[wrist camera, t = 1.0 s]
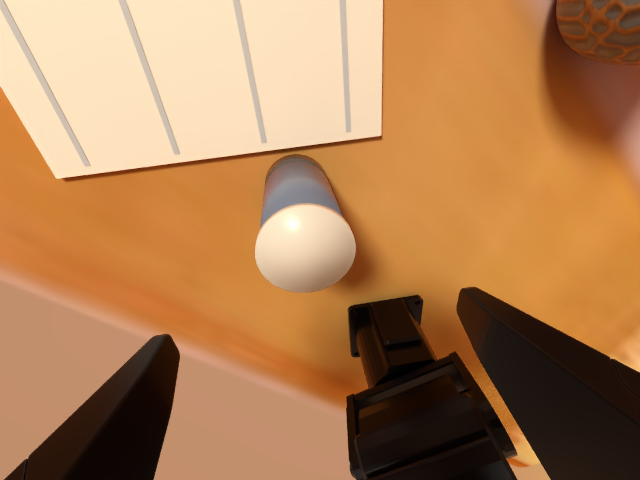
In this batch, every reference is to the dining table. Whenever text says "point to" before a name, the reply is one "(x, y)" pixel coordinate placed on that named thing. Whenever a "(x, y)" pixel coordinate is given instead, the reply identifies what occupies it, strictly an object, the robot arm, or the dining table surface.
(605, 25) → the vase
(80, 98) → the paper
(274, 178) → the grey capped bottle
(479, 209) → the dining table surface
